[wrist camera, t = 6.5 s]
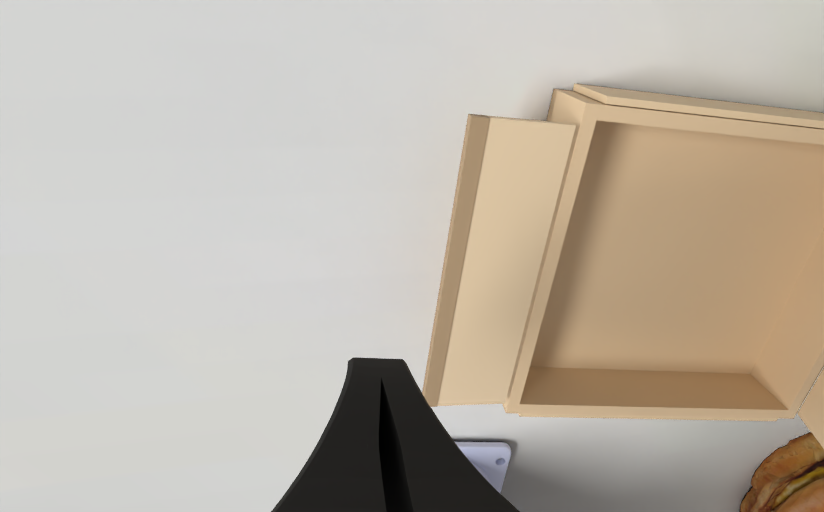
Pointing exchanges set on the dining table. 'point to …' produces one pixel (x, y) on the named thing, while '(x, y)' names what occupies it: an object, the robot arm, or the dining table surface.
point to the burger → (789, 479)
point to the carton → (678, 263)
